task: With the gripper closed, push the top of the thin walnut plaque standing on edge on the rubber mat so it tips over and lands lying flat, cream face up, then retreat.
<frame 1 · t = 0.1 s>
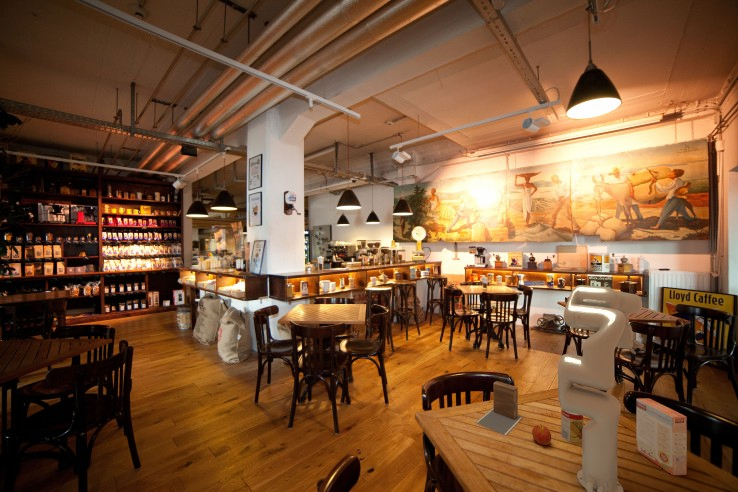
hand: (618, 359, 137), 31 cm above the table, fingers open, 9 cm apart
canned food: (572, 438, 131), on the table
plaque: (505, 414, 149), resting on mat
mat: (499, 421, 144), on the table
cracker box: (660, 463, 117), on the table
fruit: (541, 443, 128), on the table
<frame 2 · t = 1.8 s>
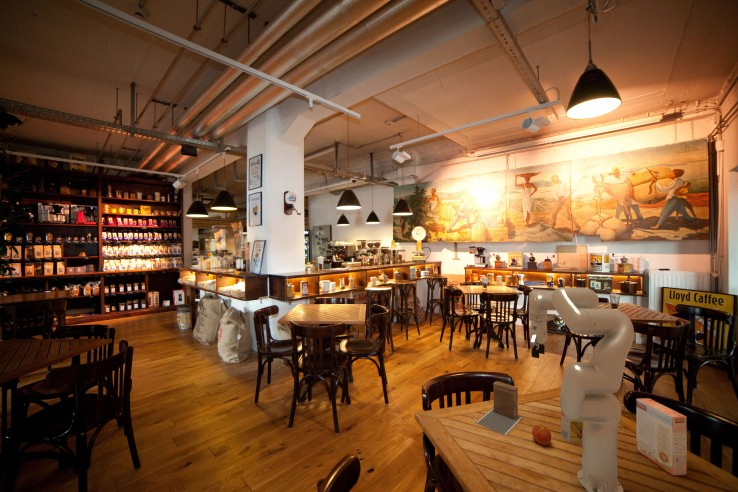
hand: (538, 355, 146), 30 cm above the table, fingers open, 7 cm apart
nothing on the table moved.
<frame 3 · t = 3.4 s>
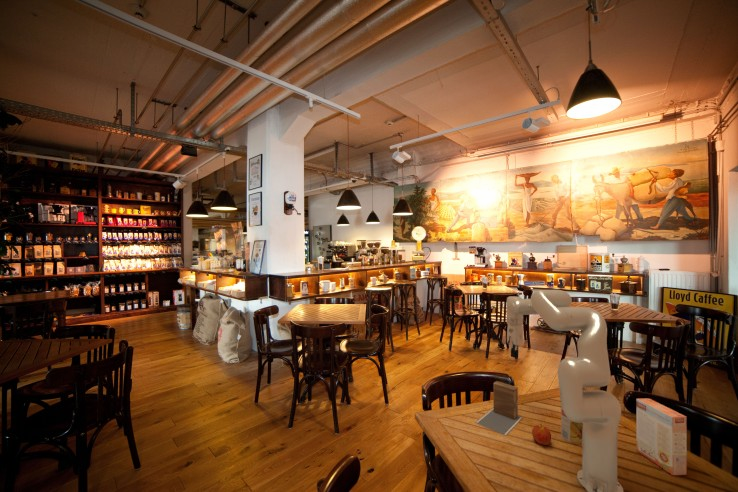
hand: (514, 357, 158), 25 cm above the table, fingers closed
nothing on the table moved.
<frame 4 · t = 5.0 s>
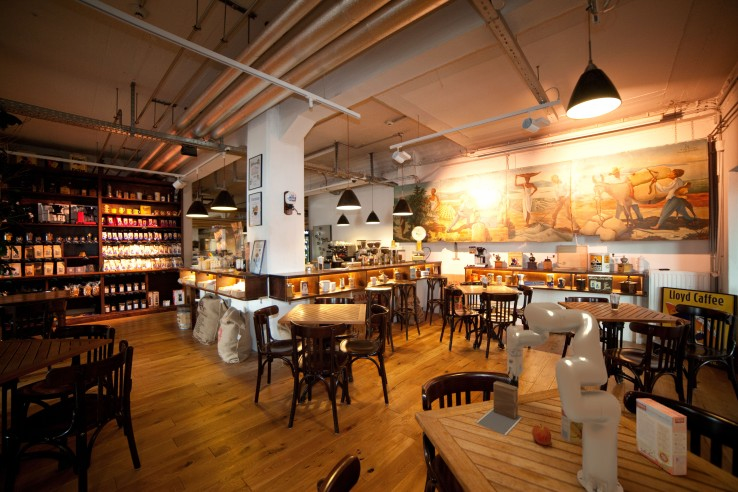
hand: (514, 387, 158), 10 cm above the table, fingers closed
nothing on the table moved.
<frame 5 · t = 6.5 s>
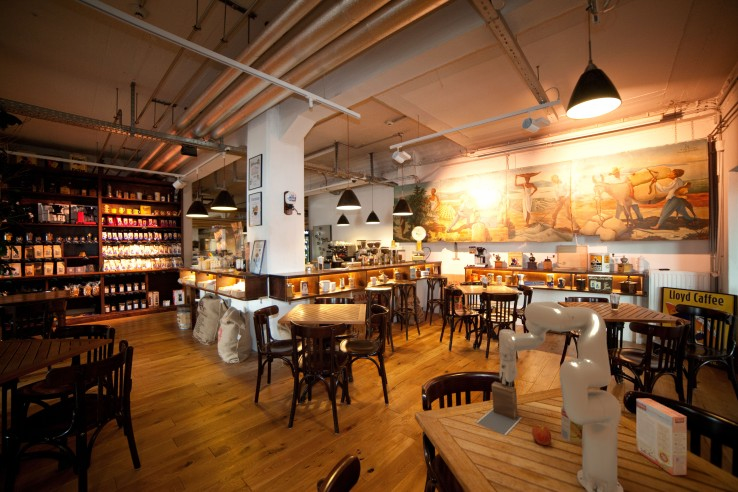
hand: (507, 393, 151), 10 cm above the table, fingers closed
plaque: (505, 413, 149), point 1 cm above the table, tilted 9°, touching mat
everything else where it was.
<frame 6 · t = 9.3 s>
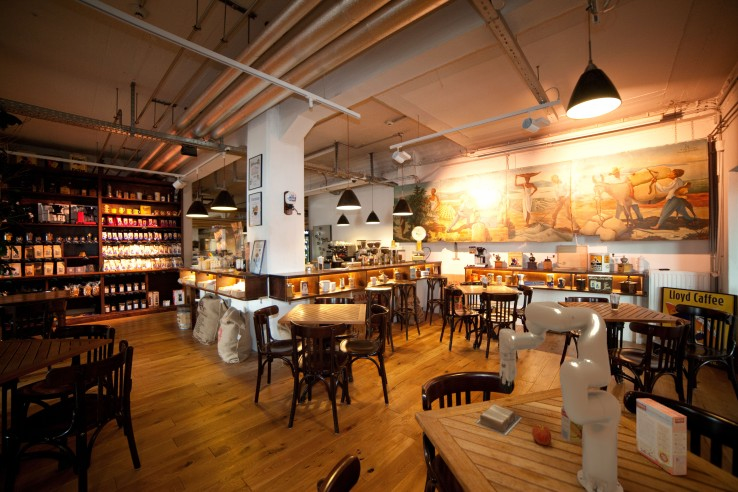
hand: (507, 392, 151), 10 cm above the table, fingers closed
plaque: (503, 411, 148), point 2 cm above the table, tilted 90°, touching mat
everything else where it was.
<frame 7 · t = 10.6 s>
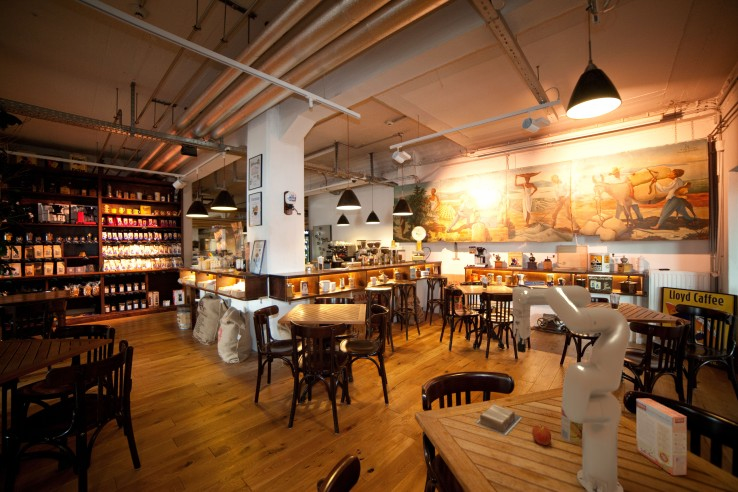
hand: (521, 351, 148), 31 cm above the table, fingers closed
nothing on the table moved.
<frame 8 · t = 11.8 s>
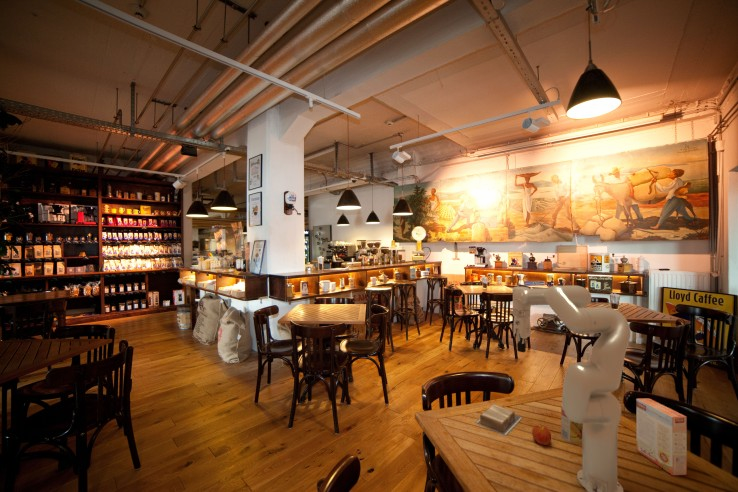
hand: (521, 351, 148), 31 cm above the table, fingers closed
nothing on the table moved.
at the end: plaque tilted 90°; plaque inside the target area (5.5 cm from its centre), point 2.4 cm above the table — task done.
